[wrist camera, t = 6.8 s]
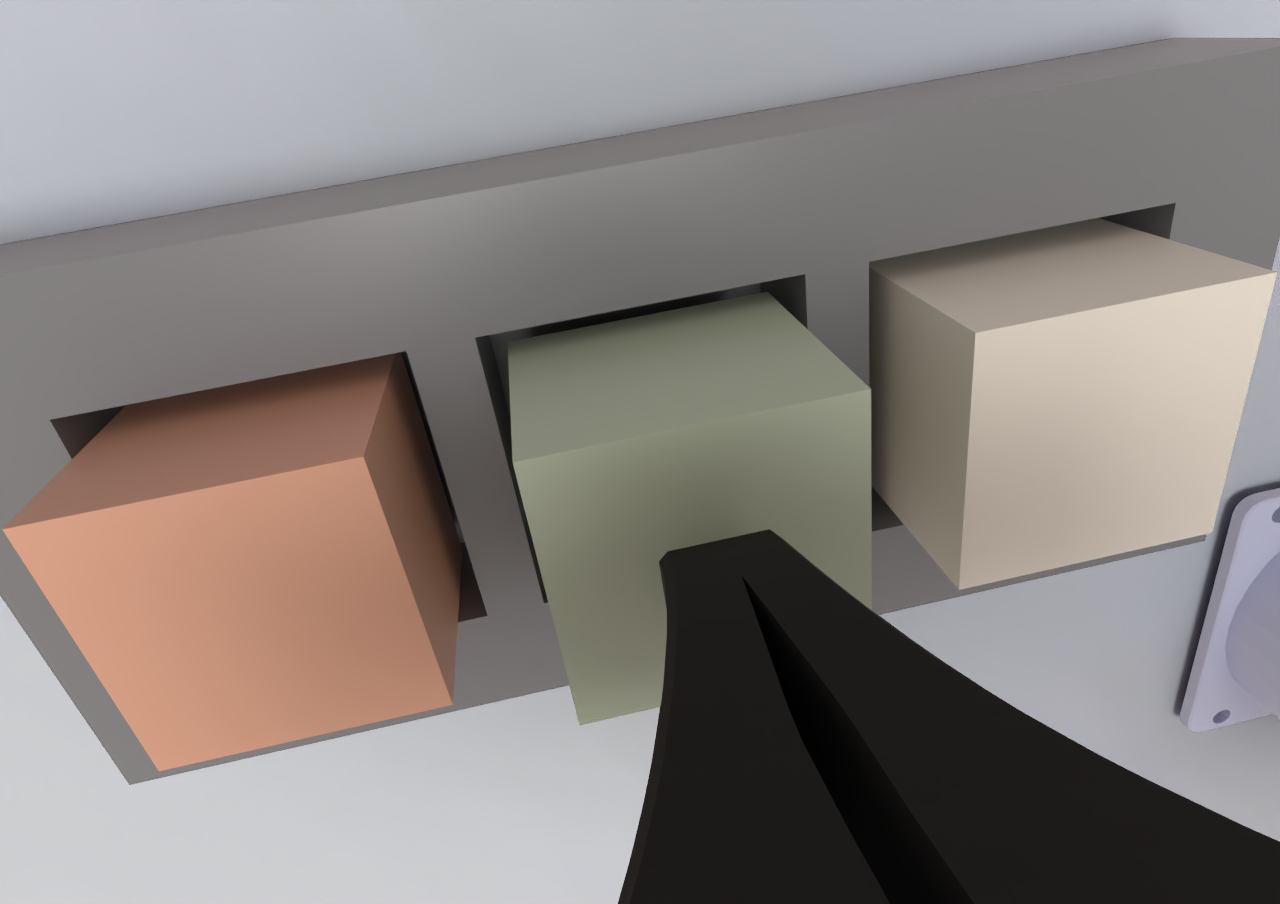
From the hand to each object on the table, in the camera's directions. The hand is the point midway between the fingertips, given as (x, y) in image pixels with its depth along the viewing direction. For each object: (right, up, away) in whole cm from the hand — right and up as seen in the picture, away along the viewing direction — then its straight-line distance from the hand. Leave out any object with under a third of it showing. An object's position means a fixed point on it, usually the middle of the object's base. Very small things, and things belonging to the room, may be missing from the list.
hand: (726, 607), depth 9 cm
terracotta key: (-7, +1, +4) cm, 8 cm away
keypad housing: (-1, +3, +6) cm, 7 cm away
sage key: (-1, +2, +4) cm, 5 cm away
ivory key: (+5, +4, +5) cm, 8 cm away
